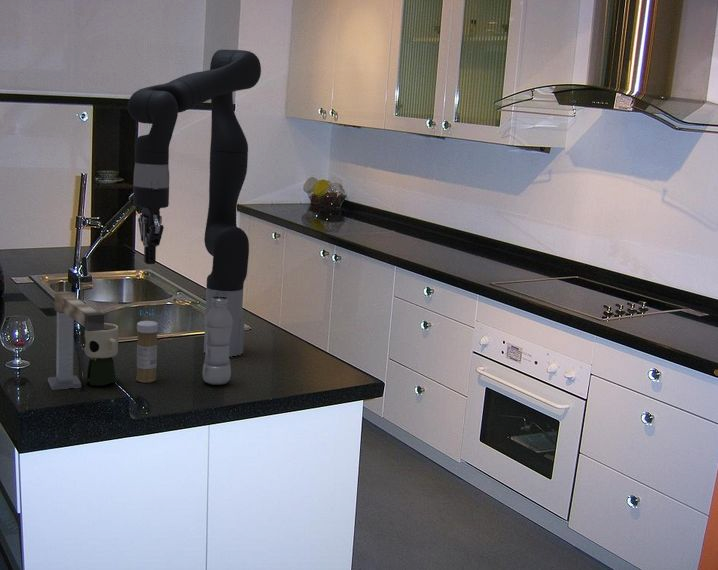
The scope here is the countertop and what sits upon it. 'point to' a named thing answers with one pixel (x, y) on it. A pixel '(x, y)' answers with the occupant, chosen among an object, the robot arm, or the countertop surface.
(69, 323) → the post
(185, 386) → the countertop surface
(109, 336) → the character mug
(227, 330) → the plastic bottle
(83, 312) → the swing arm
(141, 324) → the sprinkles bottle
